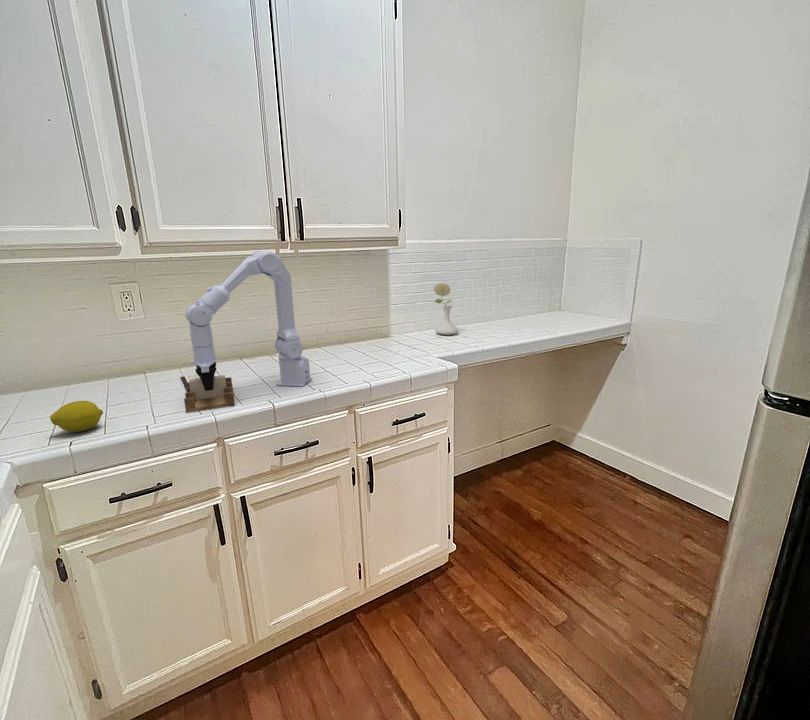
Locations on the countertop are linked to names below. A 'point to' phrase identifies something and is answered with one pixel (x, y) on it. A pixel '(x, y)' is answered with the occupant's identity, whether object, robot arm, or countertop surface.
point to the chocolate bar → (186, 379)
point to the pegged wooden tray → (209, 399)
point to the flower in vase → (445, 311)
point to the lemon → (77, 416)
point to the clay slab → (217, 390)
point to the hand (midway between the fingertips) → (209, 388)
